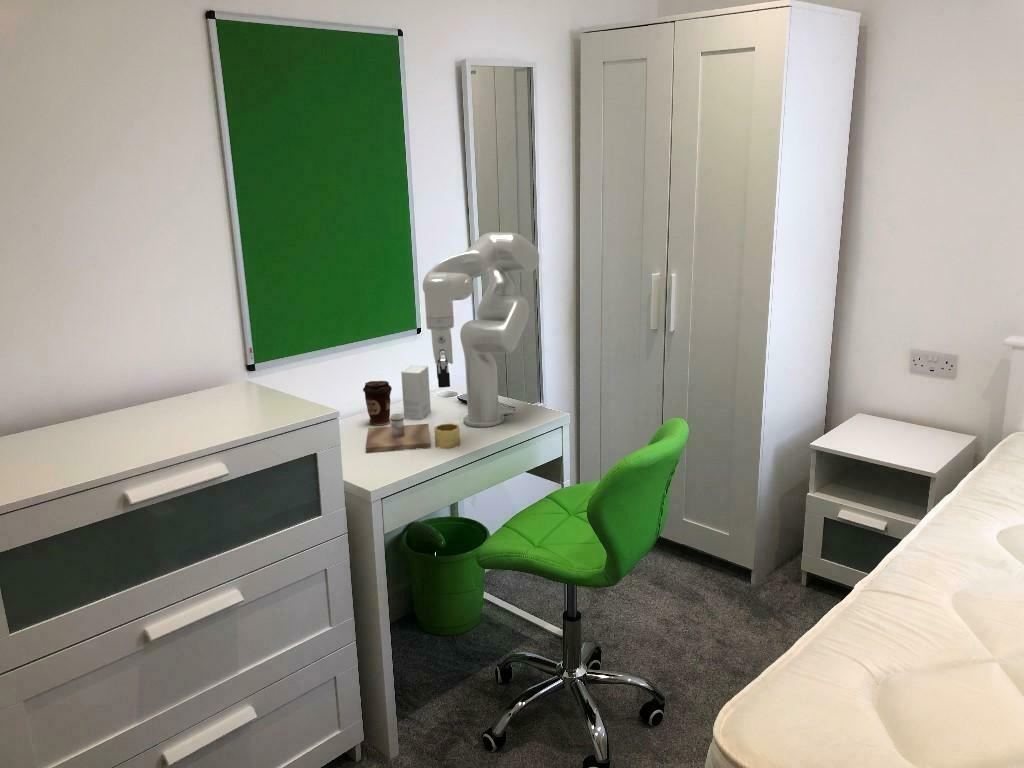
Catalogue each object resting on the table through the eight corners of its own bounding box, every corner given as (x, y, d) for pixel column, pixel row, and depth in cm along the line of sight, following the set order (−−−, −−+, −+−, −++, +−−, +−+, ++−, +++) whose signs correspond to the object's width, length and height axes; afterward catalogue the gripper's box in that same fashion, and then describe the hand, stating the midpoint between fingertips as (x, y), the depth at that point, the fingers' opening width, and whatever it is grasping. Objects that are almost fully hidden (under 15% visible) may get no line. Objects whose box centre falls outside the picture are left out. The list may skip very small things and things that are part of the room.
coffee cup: (377, 429, 253) (373, 388, 250) (360, 424, 259) (356, 383, 255) (399, 421, 259) (396, 381, 256) (382, 417, 265) (378, 377, 261)
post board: (428, 428, 252) (427, 404, 250) (430, 447, 235) (428, 422, 233) (368, 432, 250) (366, 408, 248) (366, 452, 233) (363, 427, 231)
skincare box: (413, 411, 270) (410, 364, 266) (432, 412, 268) (429, 365, 264) (403, 419, 262) (399, 371, 258) (423, 420, 260) (419, 371, 256)
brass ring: (459, 439, 241) (458, 422, 240) (461, 447, 234) (460, 430, 233) (435, 441, 240) (434, 424, 239) (435, 449, 233) (434, 432, 232)
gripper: (455, 327, 220) (458, 389, 224) (452, 316, 237) (455, 374, 241) (427, 328, 219) (430, 391, 224) (425, 317, 236) (429, 375, 240)
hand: (443, 382), depth 232 cm, fingers open, 9 cm apart
